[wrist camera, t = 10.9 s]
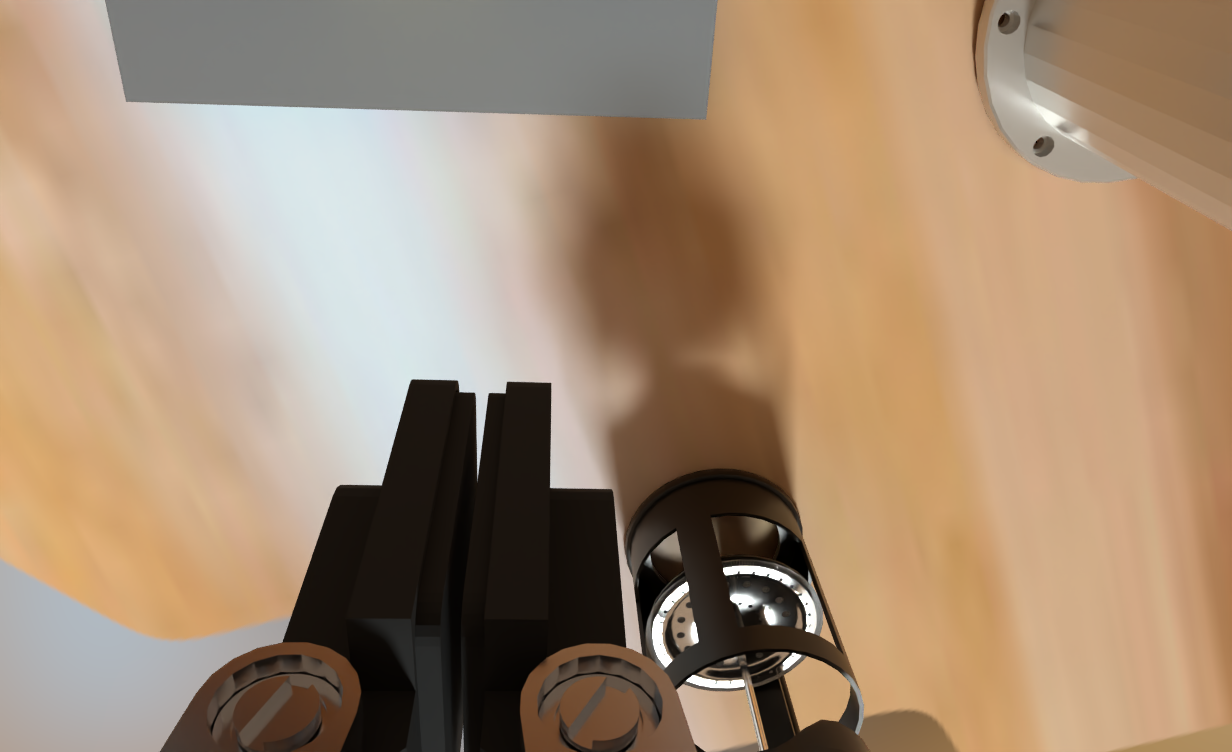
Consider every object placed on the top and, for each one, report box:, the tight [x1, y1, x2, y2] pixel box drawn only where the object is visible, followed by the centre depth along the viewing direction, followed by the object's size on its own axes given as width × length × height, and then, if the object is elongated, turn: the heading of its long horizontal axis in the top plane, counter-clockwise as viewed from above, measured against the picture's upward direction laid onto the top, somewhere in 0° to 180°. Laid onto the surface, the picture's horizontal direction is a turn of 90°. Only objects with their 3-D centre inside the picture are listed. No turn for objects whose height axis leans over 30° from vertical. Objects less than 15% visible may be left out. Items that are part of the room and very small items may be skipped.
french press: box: [625, 469, 870, 752], centre depth 40 cm, size 12×9×23 cm
